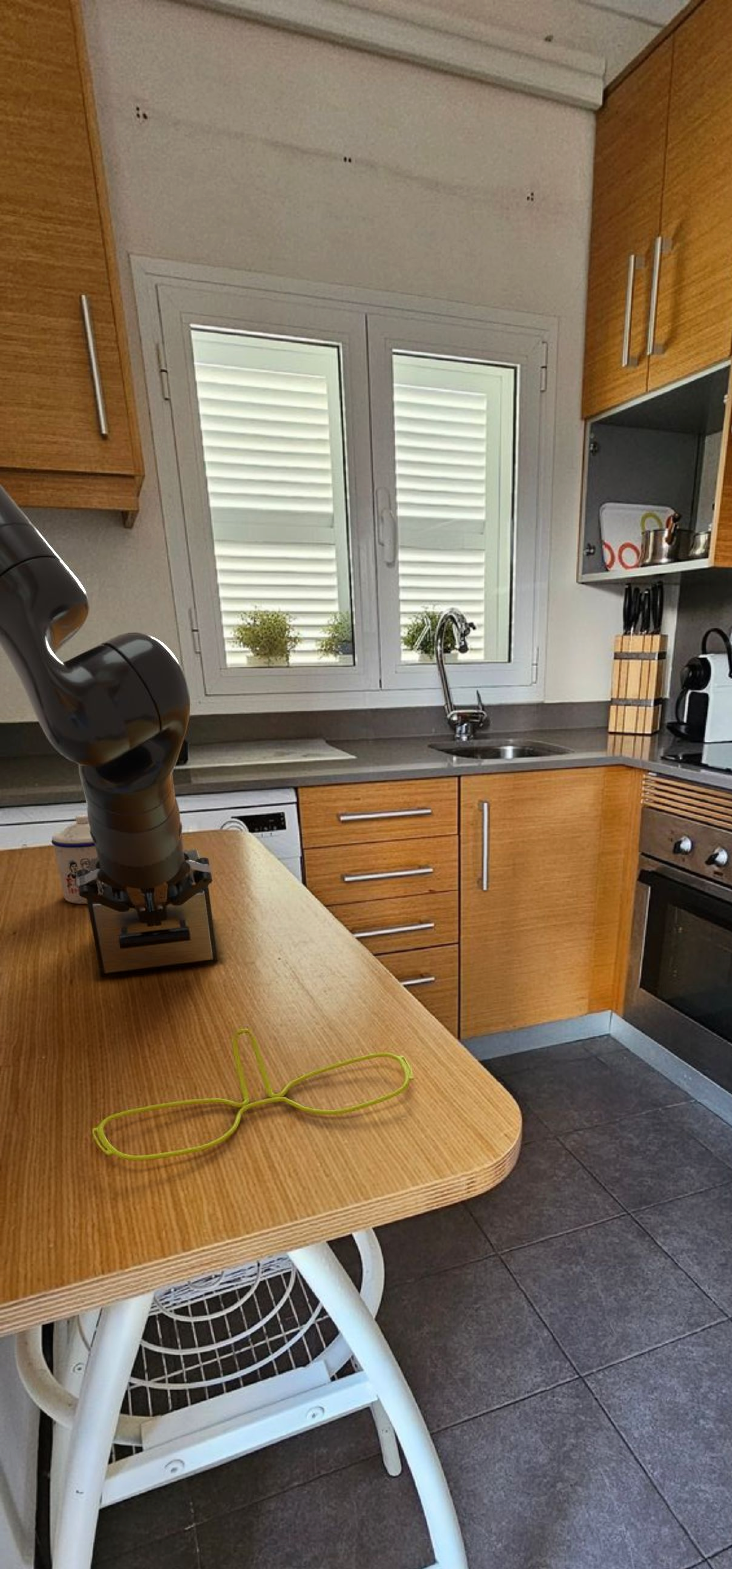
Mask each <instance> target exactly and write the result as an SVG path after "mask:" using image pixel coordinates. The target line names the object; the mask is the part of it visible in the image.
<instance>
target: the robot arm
mask: <svg viewBox="0 0 732 1569" xmlns="http://www.w3.org/2000/svg"><path fill="white" fill-rule="evenodd" d="M89 612H90V599H89V596H88V594H87V592H86V590H85V588H84V586H83V585H82V583H81V582H80V581H79V578H77V576H76V575H75V574H74V572H73V571H72V570H71V569H70V568H69V566H68V565H67V564H66V563H65V562H64V561H63V559H62V558H61V557H60V555H58V553H57V551H55V549H53V547H52V546H51V545H50V543H48V541H47V540H46V539H45V537H44V536H43V535H42V534H41V533H40V531H39V530H38V529H37V528H36V527H35V525H34V524H33V523H32V521H31V520H30V519H29V518H28V516H27V515H26V514H25V513H24V512H23V511H22V509H21V508H20V507H19V506H18V504H17V503H16V502H15V501H14V499H13V498H12V497H11V496H10V494H9V493H8V492H7V490H6V489H5V488H4V487H3V486H2V484H1V483H0V646H1V648H2V650H3V651H4V653H5V655H6V656H7V658H8V660H9V662H10V664H11V666H12V667H13V669H14V670H15V672H16V674H17V676H18V679H19V680H20V682H21V684H22V686H23V689H24V691H25V693H26V695H27V697H28V700H29V702H30V705H31V708H32V709H33V712H34V714H35V716H36V719H37V721H38V723H39V725H40V727H41V729H42V731H43V733H44V735H45V737H46V738H47V740H48V741H49V743H50V744H51V745H52V747H53V748H54V749H55V750H56V751H57V752H58V753H59V754H60V755H62V756H63V757H64V758H66V759H68V760H69V761H71V762H74V763H76V764H78V774H79V778H80V783H81V787H82V791H83V794H84V798H85V802H86V812H87V813H86V815H88V821H89V825H90V834H91V837H92V840H93V841H94V844H95V848H96V852H97V855H98V861H97V862H96V868H97V869H96V870H94V871H92V872H91V871H89V870H86V869H82V870H78V871H77V882H78V889H79V896H81V897H83V898H86V899H88V900H91V901H93V902H96V903H98V904H101V905H103V906H106V907H109V908H111V909H114V910H116V911H119V912H126V911H128V910H129V909H130V908H134V909H136V911H137V912H138V917H139V921H140V922H141V923H147V927H151V926H154V924H155V926H160V925H162V924H161V921H165V920H167V911H166V906H167V905H168V904H171V903H172V905H174V906H180V905H182V904H184V903H185V902H186V901H188V900H189V899H190V898H192V897H193V896H194V895H196V894H197V893H198V892H200V891H201V890H202V889H204V888H205V887H206V886H208V887H209V886H210V884H212V883H213V876H212V870H211V865H210V860H209V858H208V857H200V858H199V859H197V860H196V861H195V862H194V861H191V860H189V856H188V854H187V853H186V852H184V842H183V824H182V820H181V812H180V807H179V803H178V800H177V797H176V792H175V782H174V774H173V773H174V770H175V766H176V764H177V762H178V760H179V756H180V752H181V749H182V746H183V743H184V739H185V737H186V733H187V729H188V726H189V721H190V716H191V696H190V688H189V684H188V681H187V677H186V674H185V672H184V669H183V667H182V665H181V664H180V662H179V660H178V658H177V657H176V656H175V654H174V653H173V651H171V650H170V649H169V648H168V646H167V645H166V644H164V643H163V642H162V641H161V640H159V639H158V638H155V637H153V636H152V635H149V634H146V633H142V632H136V631H135V632H127V633H122V634H119V635H116V636H114V637H112V638H110V639H108V640H106V641H104V642H102V643H100V644H98V645H95V646H94V647H92V648H90V649H88V650H86V651H83V652H82V653H80V654H78V655H76V656H74V657H72V658H70V659H68V660H65V661H61V660H60V659H59V658H58V656H56V655H55V654H56V653H57V652H58V651H59V650H60V649H61V648H62V647H63V646H64V645H66V644H67V643H68V642H69V641H70V640H71V639H72V638H73V637H75V635H76V634H77V633H78V632H79V631H80V629H82V627H83V626H84V625H85V623H86V621H87V619H88V616H89ZM182 886H183V889H182V888H181V887H182ZM112 893H114V894H115V896H116V898H114V896H113V894H112ZM149 893H150V896H149ZM150 899H151V902H150ZM151 906H152V907H151ZM152 913H153V914H152ZM153 918H154V921H153Z"/></svg>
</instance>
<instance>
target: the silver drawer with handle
mask: <svg viewBox="0 0 732 1569" xmlns="http://www.w3.org/2000/svg"><path fill="white" fill-rule="evenodd" d="M149 896H150V893H149ZM114 898H116V897H114ZM150 902H151V899H150ZM151 907H152V906H151ZM93 910H94V916H95V921H96V927H97V932H98V938H99V943H100V949H101V954H102V960H103V965H104V971H105V973H111V972H119V971H127V970H134V969H142V968H150V967H157V966H165V965H173V964H180V963H188V962H196V961H203V960H211V959H213V956H212V948H211V940H210V933H209V925H208V917H207V909H206V901H205V894H204V891H200V892H198V893H197V894H196V895H194V896H193V897H192V898H190V899H189V900H188V901H186V902H185V903H184V904H182V905H180V906H174V905H172V903H171V904H168V905H167V906H166V911H167V920H165V921H161V924H162V925H160V926H155V924H154V926H151V927H147V923H141V922H140V921H139V917H138V912H137V911H136V909H134V908H130V909H129V910H128V911H126V912H119V911H116V910H114V909H111V908H109V907H106V906H103V905H101V904H98V903H96V902H93ZM152 914H153V913H152ZM153 921H154V918H153Z"/></svg>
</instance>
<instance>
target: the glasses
mask: <svg viewBox="0 0 732 1569" xmlns="http://www.w3.org/2000/svg"><path fill="white" fill-rule="evenodd" d="M243 1034H248V1035H249V1038H250V1041H251V1045H252V1048H253V1052H254V1055H255V1058H256V1062H257V1066H258V1069H259V1071H260V1075H261V1078H262V1081H263V1084H264V1087H265V1091H266V1093H267V1095H268V1097H269V1098H266V1099H261V1100H257V1101H254V1102H251V1103H250V1097H249V1092H248V1088H247V1084H246V1081H245V1076H244V1072H243V1068H242V1063H241V1058H240V1052H239V1045H238V1038H239V1036H240V1035H243ZM232 1053H233V1058H234V1063H235V1068H236V1072H237V1078H238V1081H239V1085H240V1090H241V1094H242V1098H243V1101H242V1102H236V1101H233V1100H230V1099H226V1098H220V1097H219V1098H217V1097H216V1098H215V1097H213V1098H196V1099H187V1100H179V1101H173V1102H166V1103H160V1104H153V1105H152V1104H151V1105H148V1106H147V1105H146V1106H144V1107H139V1108H133V1109H129V1110H124V1111H121V1112H117V1113H115V1114H111V1115H109V1116H106V1117H105V1118H104V1119H103V1120H102V1121H100V1124H99V1125H98V1126H97V1127H93V1128H92V1131H91V1132H92V1136H93V1138H94V1141H95V1143H96V1145H97V1146H98V1148H99V1149H100V1150H101V1151H102V1152H103V1153H104V1154H105V1155H107V1156H111V1155H114V1156H115V1157H117V1158H119V1159H121V1160H126V1161H133V1162H142V1161H143V1162H144V1161H151V1160H153V1161H154V1160H160V1159H166V1158H172V1157H173V1158H174V1157H178V1156H183V1155H188V1154H192V1153H193V1154H194V1153H197V1152H202V1151H205V1150H208V1149H210V1148H213V1147H215V1146H217V1145H219V1144H221V1143H222V1142H224V1141H225V1140H227V1139H228V1138H230V1137H231V1136H232V1135H233V1134H234V1132H236V1130H237V1129H238V1126H239V1125H240V1122H241V1119H242V1116H243V1114H244V1112H245V1111H247V1110H249V1109H252V1108H255V1107H259V1106H262V1105H267V1104H271V1103H278V1102H285V1103H287V1105H290V1106H292V1107H294V1108H296V1109H298V1110H300V1111H303V1112H305V1113H308V1114H314V1115H322V1116H323V1115H325V1116H327V1115H328V1116H331V1115H333V1116H334V1115H343V1114H348V1113H352V1112H355V1111H358V1110H362V1109H365V1108H369V1107H371V1106H374V1105H377V1104H380V1103H383V1102H385V1101H387V1100H390V1099H392V1098H394V1097H396V1096H398V1095H400V1094H402V1093H403V1092H404V1091H405V1090H406V1089H407V1088H408V1086H409V1085H410V1081H412V1080H414V1079H415V1078H414V1077H415V1076H414V1071H413V1068H412V1066H411V1064H410V1062H409V1061H408V1059H407V1058H406V1057H405V1056H404V1055H403V1054H402V1055H396V1054H394V1053H390V1052H377V1053H371V1054H367V1055H362V1056H358V1057H354V1058H349V1059H346V1060H343V1061H340V1062H337V1063H334V1064H330V1065H328V1066H324V1067H322V1068H320V1069H316V1070H313V1071H311V1072H308V1073H306V1074H304V1075H301V1076H299V1077H297V1078H295V1079H293V1080H292V1081H290V1082H289V1083H287V1084H286V1085H285V1087H283V1089H282V1090H281V1092H279V1093H274V1092H273V1090H272V1086H271V1083H270V1080H269V1078H268V1075H267V1072H266V1068H265V1065H264V1061H263V1059H262V1056H261V1051H260V1049H259V1044H258V1042H257V1040H256V1038H255V1036H254V1034H253V1032H252V1031H250V1029H248V1028H241V1029H238V1030H237V1031H236V1032H235V1033H234V1036H233V1037H232ZM375 1058H391V1059H393V1060H395V1061H396V1062H398V1063H399V1065H400V1067H401V1069H402V1071H403V1074H404V1083H403V1084H402V1086H401V1087H399V1088H398V1089H396V1090H394V1091H392V1092H390V1093H388V1094H386V1095H383V1096H380V1097H378V1098H375V1099H372V1100H369V1101H366V1102H363V1103H360V1104H357V1105H353V1106H350V1107H346V1108H340V1109H316V1108H312V1107H311V1108H310V1107H307V1106H304V1105H302V1104H300V1103H297V1102H296V1101H294V1100H291V1099H289V1098H287V1097H286V1096H285V1095H287V1092H288V1091H289V1090H290V1089H291V1088H292V1087H293V1086H294V1085H297V1084H298V1083H301V1082H303V1081H305V1080H307V1079H310V1078H312V1077H314V1076H317V1075H319V1074H323V1073H325V1072H328V1071H331V1070H334V1069H337V1068H341V1067H345V1066H347V1065H350V1064H355V1063H358V1062H363V1061H367V1060H370V1059H375ZM198 1104H200V1105H201V1104H225V1105H229V1106H231V1107H234V1108H240V1109H239V1110H238V1111H237V1113H236V1116H235V1120H234V1123H233V1125H232V1127H230V1129H229V1130H228V1131H226V1132H225V1133H224V1134H223V1135H222V1136H220V1137H218V1138H216V1139H214V1140H213V1141H210V1142H208V1143H204V1144H201V1145H198V1146H194V1147H189V1148H184V1149H179V1150H173V1151H168V1152H160V1153H153V1154H145V1155H143V1154H142V1155H132V1154H126V1153H123V1152H121V1151H119V1150H118V1149H116V1148H115V1147H114V1146H113V1145H112V1144H111V1143H110V1142H109V1140H108V1139H107V1136H106V1135H105V1132H104V1127H105V1126H106V1125H107V1124H108V1123H110V1122H111V1121H114V1120H117V1119H120V1118H123V1117H127V1116H131V1115H135V1114H140V1113H146V1112H149V1111H154V1110H162V1109H168V1108H173V1107H174V1108H175V1107H181V1106H189V1105H198ZM96 1133H97V1135H96ZM98 1138H99V1139H98ZM102 1145H103V1146H104V1147H103V1146H102Z"/></svg>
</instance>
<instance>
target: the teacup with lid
mask: <svg viewBox="0 0 732 1569" xmlns="http://www.w3.org/2000/svg"><path fill="white" fill-rule="evenodd" d="M74 820H75V822H74V823H71V824H69V825H67V827H66V828H65V829H63V830H60V831H58V832H55V833H54V834H53V835H52V837H51V844H52V845H53V847H54V852H55V857H56V862H57V867H58V873H59V877H60V883H61V889H62V894H63V898H64V900H65V901H66V902H69V903H72V904H76V905H88V904H87V899H86V898H83V897H81V896H79V889H78V882H77V871H78V870H82V869H86V870H89V867H90V860H91V859H95V858H98V855H97V852H96V848H95V844H94V841H93V840H92V837H91V834H90V825H89V821H88V814H79V815H76V816H75V818H74Z"/></svg>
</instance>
